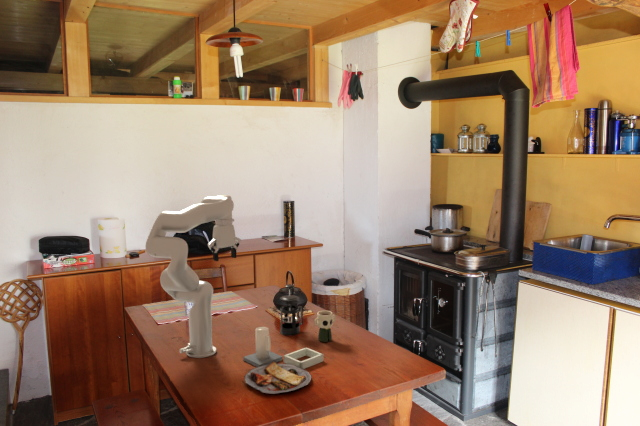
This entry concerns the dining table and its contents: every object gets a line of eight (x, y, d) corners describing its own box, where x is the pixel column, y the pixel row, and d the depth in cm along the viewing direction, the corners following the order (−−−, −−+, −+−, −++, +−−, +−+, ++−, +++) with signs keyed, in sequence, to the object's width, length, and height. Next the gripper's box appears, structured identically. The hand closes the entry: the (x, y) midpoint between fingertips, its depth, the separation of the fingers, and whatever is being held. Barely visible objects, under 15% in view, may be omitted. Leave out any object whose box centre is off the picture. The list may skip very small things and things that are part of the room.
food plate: (232, 380, 210) (232, 371, 209) (279, 363, 226) (279, 355, 226) (275, 404, 192) (275, 395, 192) (322, 384, 208) (322, 375, 208)
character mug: (318, 345, 245) (318, 317, 243) (310, 340, 251) (310, 312, 249) (339, 340, 250) (339, 312, 249) (330, 335, 256) (330, 308, 255)
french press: (283, 337, 255) (283, 289, 251) (275, 331, 263) (275, 284, 260) (306, 333, 260) (306, 285, 257) (298, 327, 268) (297, 281, 265)
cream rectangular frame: (300, 370, 219) (300, 362, 219) (283, 362, 226) (283, 355, 226) (323, 361, 227) (323, 354, 227) (306, 354, 235) (306, 347, 235)
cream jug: (253, 356, 229) (252, 329, 227) (263, 353, 232) (263, 325, 231) (264, 362, 223) (263, 333, 222) (274, 358, 227) (274, 330, 225)
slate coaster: (259, 368, 221) (259, 364, 221) (243, 360, 229) (243, 357, 228) (282, 359, 229) (282, 356, 229) (266, 352, 237) (266, 349, 237)
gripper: (234, 219, 259) (235, 255, 261) (203, 223, 247) (204, 260, 250) (244, 221, 254) (245, 257, 256) (212, 225, 242) (213, 263, 244)
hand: (225, 259), depth 253 cm, fingers open, 9 cm apart
